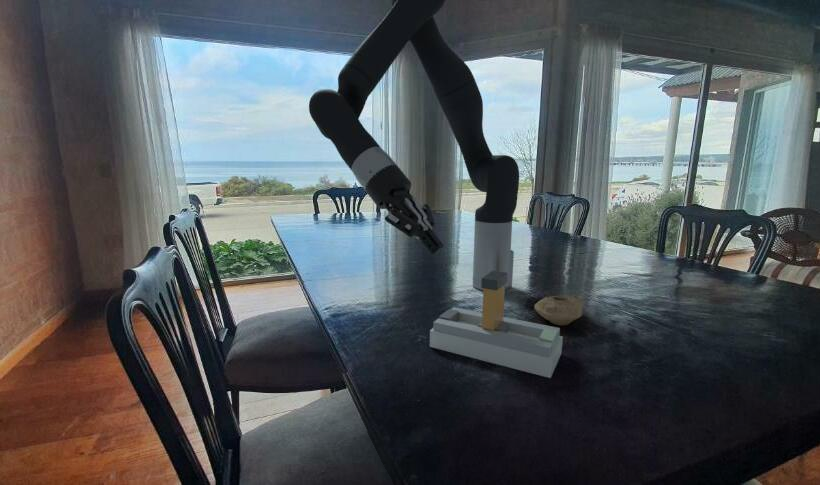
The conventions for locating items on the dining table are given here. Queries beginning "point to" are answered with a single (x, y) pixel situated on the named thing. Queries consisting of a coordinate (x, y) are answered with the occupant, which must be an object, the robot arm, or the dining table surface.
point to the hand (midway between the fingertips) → (438, 250)
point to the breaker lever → (493, 301)
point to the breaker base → (497, 352)
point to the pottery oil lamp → (560, 308)
